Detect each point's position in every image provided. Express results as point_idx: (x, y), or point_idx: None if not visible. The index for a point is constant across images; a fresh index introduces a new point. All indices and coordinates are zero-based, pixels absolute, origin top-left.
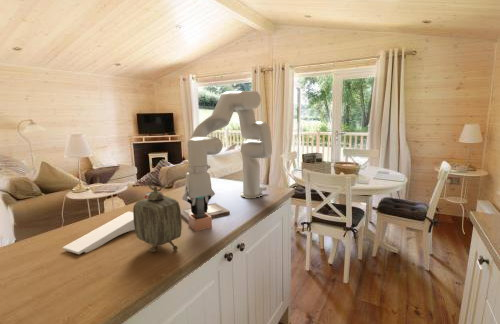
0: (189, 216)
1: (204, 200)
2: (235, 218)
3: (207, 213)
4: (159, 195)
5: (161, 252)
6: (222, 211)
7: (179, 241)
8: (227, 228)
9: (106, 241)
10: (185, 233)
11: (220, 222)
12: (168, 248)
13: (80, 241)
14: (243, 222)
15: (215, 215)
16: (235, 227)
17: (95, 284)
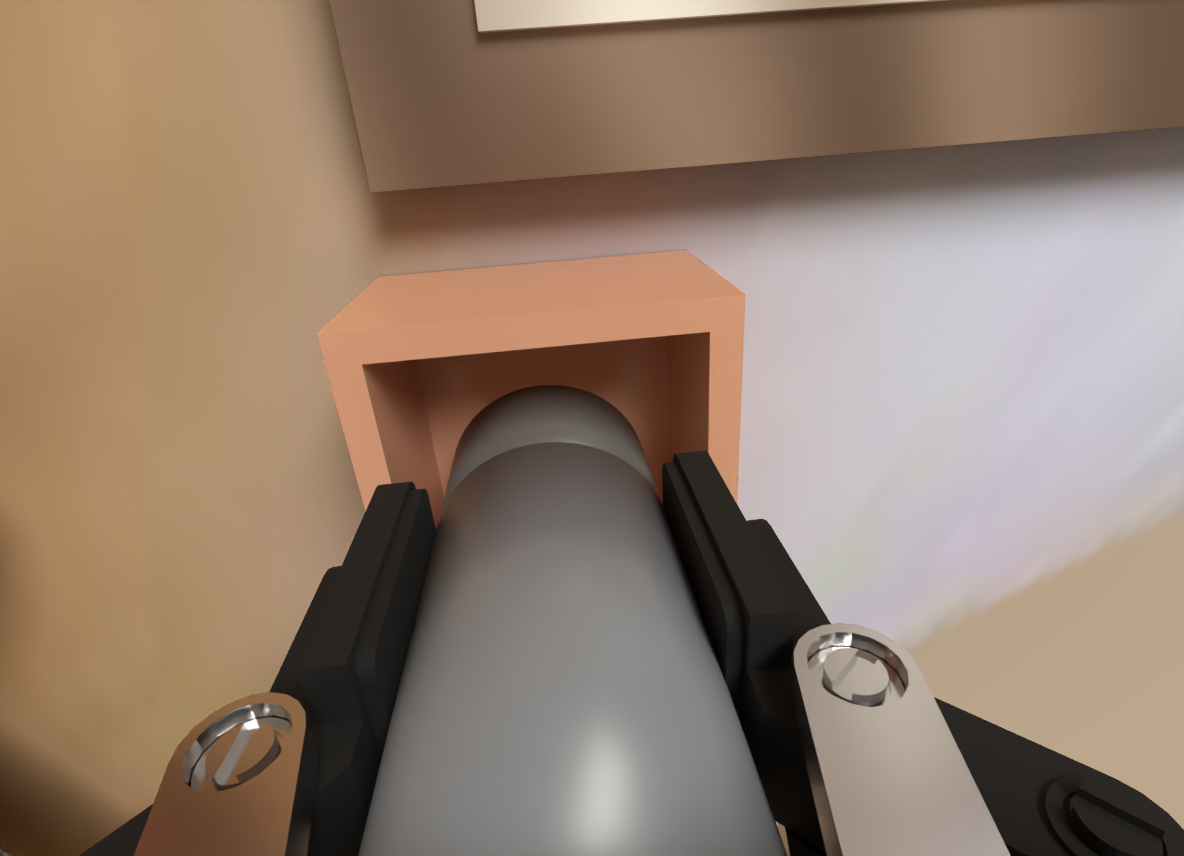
0: (339, 390)
1: (797, 772)
2: (1145, 366)
3: (884, 5)
4: None
5: (12, 825)
6: None
7: (198, 701)
8: (827, 614)
9: None
10: (286, 543)
11: (874, 407)
12: (78, 785)
13: None
14: (1099, 541)
15: (975, 140)
16: (918, 625)
17: None
